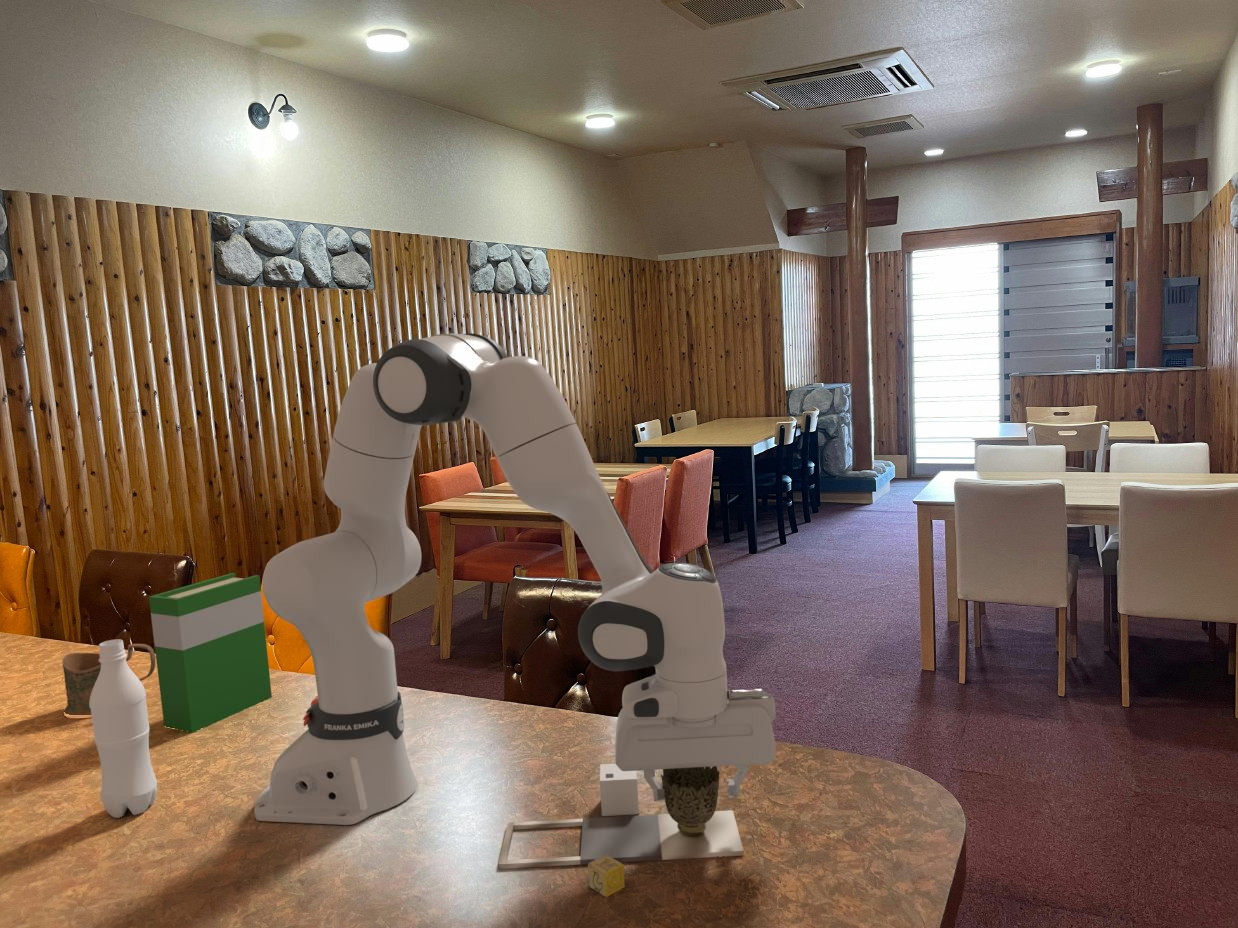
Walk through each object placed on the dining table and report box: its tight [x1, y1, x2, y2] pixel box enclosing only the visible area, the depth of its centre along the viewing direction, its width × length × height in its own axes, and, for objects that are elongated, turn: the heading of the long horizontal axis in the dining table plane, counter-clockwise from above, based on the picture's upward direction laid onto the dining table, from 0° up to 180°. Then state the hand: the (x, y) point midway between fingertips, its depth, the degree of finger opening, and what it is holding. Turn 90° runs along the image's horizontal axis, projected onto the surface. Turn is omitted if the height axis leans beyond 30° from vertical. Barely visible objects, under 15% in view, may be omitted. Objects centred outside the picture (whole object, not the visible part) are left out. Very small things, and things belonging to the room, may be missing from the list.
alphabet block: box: [587, 855, 625, 898], centre depth 106 cm, size 3×3×3 cm
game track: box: [498, 809, 745, 870], centre depth 116 cm, size 30×10×1 cm, turn 90°
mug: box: [61, 643, 156, 715], centre depth 174 cm, size 12×18×12 cm, turn 89°
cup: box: [660, 766, 720, 837], centre depth 116 cm, size 8×7×8 cm
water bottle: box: [89, 638, 158, 819], centre depth 131 cm, size 7×7×25 cm
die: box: [599, 763, 640, 817], centre depth 125 cm, size 5×5×5 cm
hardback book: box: [148, 572, 273, 734], centre depth 168 cm, size 18×7×24 cm, turn 153°
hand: (696, 797), depth 116 cm, fingers open, 8 cm apart
